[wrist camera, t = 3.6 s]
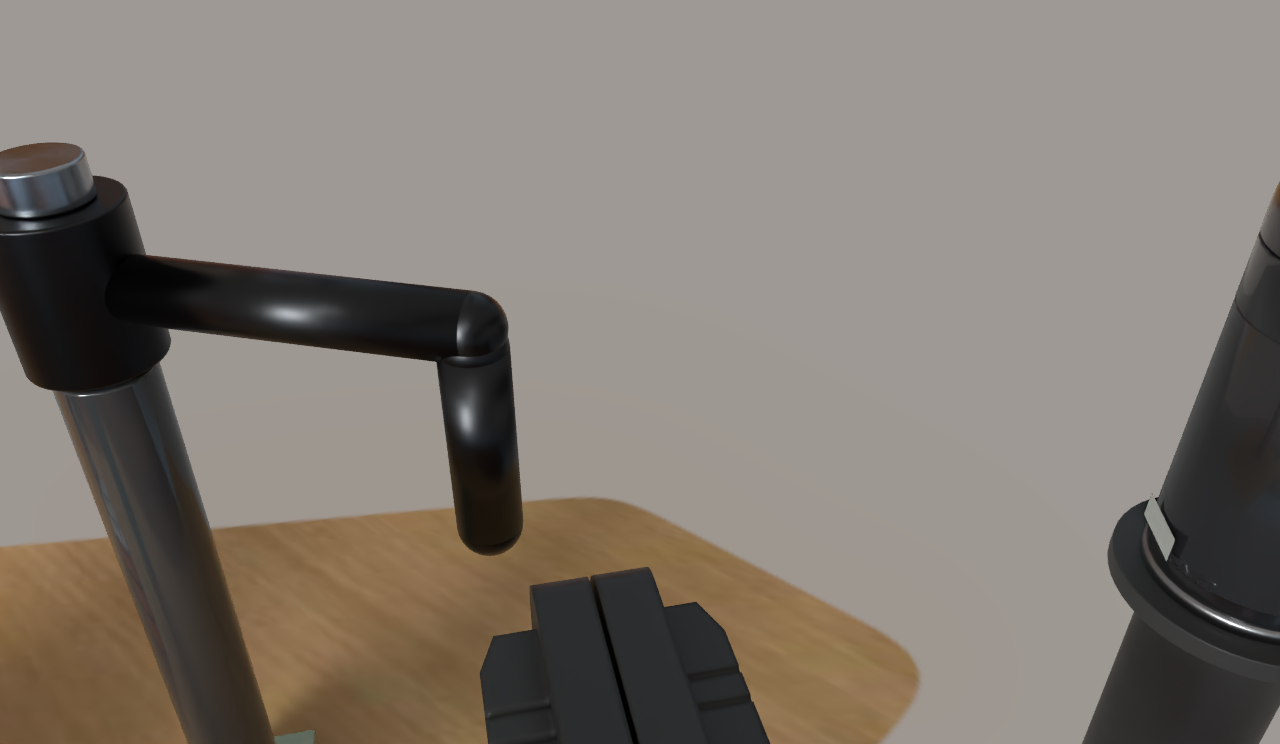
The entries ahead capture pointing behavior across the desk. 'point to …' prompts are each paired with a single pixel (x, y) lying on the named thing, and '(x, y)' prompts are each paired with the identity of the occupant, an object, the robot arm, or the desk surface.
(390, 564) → the desk surface
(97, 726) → the desk surface
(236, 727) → the faucet base
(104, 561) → the desk surface
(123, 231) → the spout
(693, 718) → the robot arm
